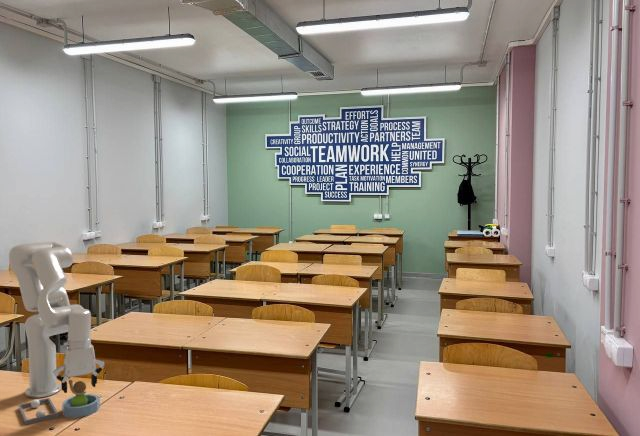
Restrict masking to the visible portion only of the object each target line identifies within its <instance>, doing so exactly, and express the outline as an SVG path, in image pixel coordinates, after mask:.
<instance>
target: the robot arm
mask: <svg viewBox="0 0 640 436" xmlns="http://www.w3.org/2000/svg"><path fill="white" fill-rule="evenodd" d="M8 262H9V265H10V268H11V270H12V272H13V274H14V276H15V278H16V280H17V281H18V286H19V291H20V294H21V298H22V302H23V306H24V308H25V310H26V311H28V312H38V313H36V314H33V315H31V316H29V317H28V318H27V319H26V321H25V323H24V329H25V334H26V338H27V349H28V371H29V372H28V373H29V375H28V376H29V387H28V388H27V389H26V390H25V391H24V392H25V393H24V394H25V396H26V397H28V398H34V399H37V398H44V397H49V396H52V395H55V394H57V393H58V392H60V391H63V392H64V394H68V382H67V380H69V379H68V378H69V377H71V378H76V377H79V376H80V377H81V376H85V375H89V374H91V375H90V377H91V379H90V380H91V383H90V384H91V386H92V387H93V388H96V384H97V383H98V376H99V374H100V373H101V372H102V370H103V368H104V367H105V364H106V363H105V361H104V360H103V361H102V360H99V359H96V355H95V349H94V345H93V344H92V343H91V342H92V341H91V340H92V338H91V337H92V336H91V335H92V326H91V325H92V314H91V311H90V310H89V309H86V308H84V307H83V306H82V305H81V304H71V303H70V299H69V296H68V293H67V290H66V289H65V287H64V286H65V285H66V284H67V283H68V280H67V277H66V275H65V272H64V270H63V269H65V268H69V267H71V266H72V265H73V263H74V255H73V252H72V251H71V250H70V248H69V247H67V246H65V245H63V244H61V243H57V242H54V241H43V242H30V243H21V244H18V245H15V246H13V247H12V248H11V249H10V250H9V253H8ZM32 265H33V266H32ZM65 333H67V341H65V342H63V347H66V348H65V352H64V357H63V358H64V359H63V364H62V365H60V366H58V368H57V349H56V344H55V343H54V342H53V341H52V340H51V339H50V337H52V336H55V335H56V336H57V335H60V334H65ZM96 365H98V367H96ZM62 371H63V374H62V376H61V375H60V373H61V372H62ZM58 381H59V382H61V384H60V383H58Z"/></svg>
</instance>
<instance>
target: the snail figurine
mask: <svg viewBox="0 0 640 436" xmlns="http://www.w3.org/2000/svg"><path fill="white" fill-rule="evenodd" d="M71 378H72V377H69V378H68V379H67V380H68V384H69V388H70V391H71V392H72V394H74V395H73V396H74V397H73V396H72V397H73V398H72V401H71V405H72V407H80V406H85V405H87V402H88V400H87V397H86V396H85V395H84V394H87V391H86V390H87V384H86V383H85V382H84V381H81V380H78V381H76V382H75V383H74V384H73V382H74V381H73V379H71Z"/></svg>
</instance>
